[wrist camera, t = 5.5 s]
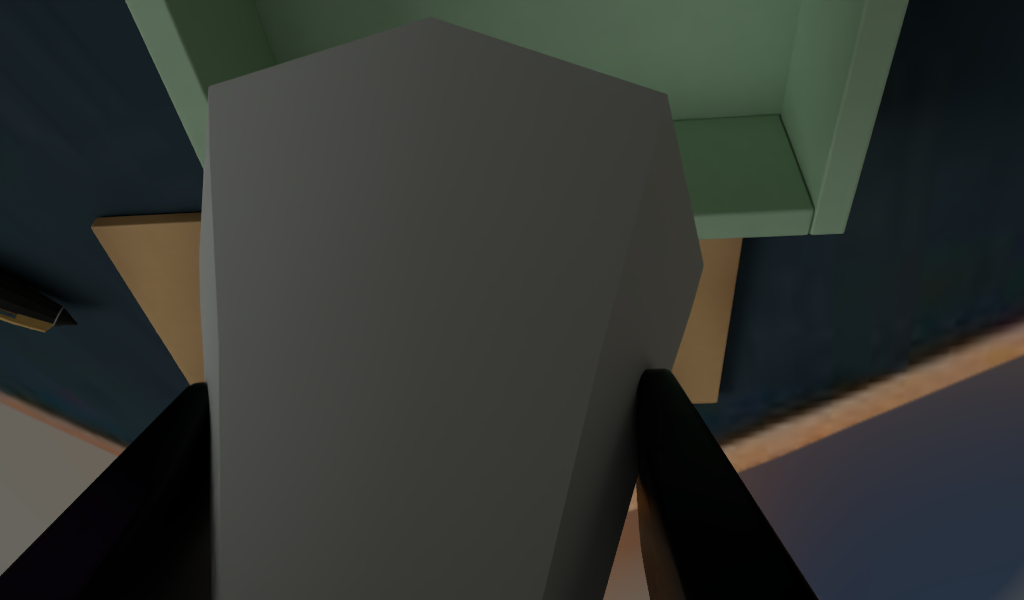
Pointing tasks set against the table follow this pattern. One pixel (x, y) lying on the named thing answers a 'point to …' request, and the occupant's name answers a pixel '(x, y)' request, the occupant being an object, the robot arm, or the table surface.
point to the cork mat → (177, 316)
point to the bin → (625, 55)
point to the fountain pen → (30, 307)
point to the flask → (433, 317)
